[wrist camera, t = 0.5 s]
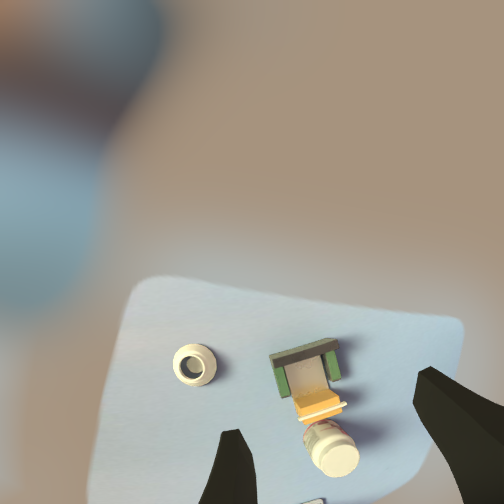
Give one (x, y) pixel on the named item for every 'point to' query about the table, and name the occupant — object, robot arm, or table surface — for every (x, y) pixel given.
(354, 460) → the pill bottle
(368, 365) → the table surface
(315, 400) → the orange block with lip
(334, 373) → the grey drawer frame
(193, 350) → the white jar
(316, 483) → the table surface
